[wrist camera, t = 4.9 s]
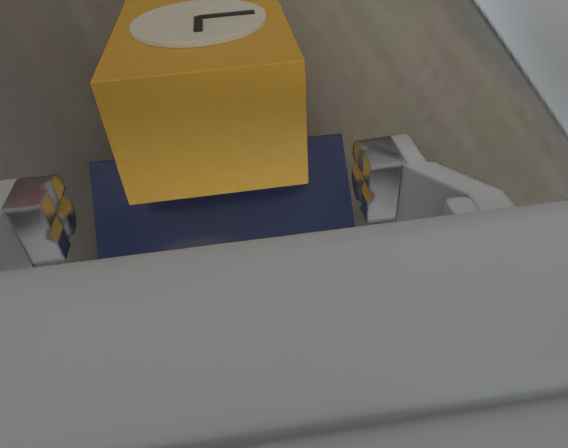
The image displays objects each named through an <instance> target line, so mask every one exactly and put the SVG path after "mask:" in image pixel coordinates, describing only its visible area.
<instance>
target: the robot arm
mask: <svg viewBox="0 0 568 448" xmlns="http://www.w3.org/2000/svg"><path fill="white" fill-rule="evenodd" d="M353 156H354V159H355V161H356V164H355V165H354V166H353V168H352V183H353V190H354V194H355V196H356V199H357V200H359V201H361V211H362V213H363V215H364V218H365V220H366V222H367V223H371V222H381V221H391V220H396V221H397V222H389V223H381V224H373V225H366V226H358V227H350V228H342V229H334V230H326V231H318V232H310V233H302V234H294V235H286V236H279V237H271V238H263V239H255V240H247V241H239V242H231V243H223V244H215V245H207V246H199V247H191V248H183V249H176V250H168V251H160V252H152V253H144V254H136V255H128V256H120V257H112V258H104V259H96V260H88V261H80V262H72V263H64V264H56V265H48V266H41V267H33V266H35V265H41V264H48V263H54V262H61V261H65V260H66V257H67V254H68V251H69V248H70V245H71V244H70V242H69V240H68V238H69V237H71V236H72V235H73V234H74V232H75V228H76V215H75V211H74V207H73V205H72V202H71V201H70V200H69V199H67V198H66V197H64V196H63V194H64V191H65V186H64V183H63V181H62V179H61V177H59V176H58V175H48V176H37V177H27V178H20V179H19V178H15V179H7V180H1V181H0V448H568V200H564V201H556V202H548V203H540V204H532V205H524V206H515V205H514V203H513V202H512V201H511V200H510V199H509V197H508V196H507V195H506V194H505V193H504V191H503V190H500V189H498V188H496V187H493V186H491V185H488V184H486V183H483V182H481V181H479V180H476V179H474V178H471V177H469V176H467V175H464V174H462V173H459V172H457V171H454V170H452V169H450V168H447V167H445V166H442V165H440V164H437V163H435V162H433V161H430V162H427V161H426V160H425V158H424V157H423V155H422V154H421V152H420V151H419V150H418V148H417V147H416V145H415V144H414V142H413V141H412V139H411V138H410V137H409V135H408V134H400V135H394V136H386V137H379V138H372V139H365V140H358V141H354V145H353Z"/></svg>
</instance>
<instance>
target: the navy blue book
mask: <svg viewBox="0 0 568 448" xmlns="http://www.w3.org/2000/svg"><path fill="white" fill-rule="evenodd" d="M307 144H308V184H300V185H292V186H284V187H275V188H267V189H259V190H251V191H242V192H234V193H226V194H218V195H209V196H201V197H193V198H185V199H176V200H168V201H160V202H151V203H143V204H135V205H129V203H128V200H127V197H126V194H125V190H124V187H123V184H122V181H121V178H120V175H119V172H118V168H117V165H116V162H115V159H114V160H106V161H97V162H90V174H91V185H92V195H93V205H94V216H95V226H96V237H97V247H98V258H99V259H104V258H112V257H120V256H128V255H136V254H144V253H152V252H160V251H168V250H176V249H183V248H191V247H199V246H207V245H215V244H223V243H231V242H239V241H247V240H255V239H263V238H271V237H279V236H286V235H294V234H302V233H310V232H318V231H326V230H334V229H342V228H350V227H355V223H354V216H353V209H352V203H351V196H350V189H349V182H348V175H347V168H346V162H345V155H344V148H343V141H342V135H341V134H333V135H324V136H315V137H307Z"/></svg>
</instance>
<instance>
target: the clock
mask: <svg viewBox="0 0 568 448" xmlns="http://www.w3.org/2000/svg"><path fill="white" fill-rule="evenodd" d="M90 84H91V87H92V90H93V93H94V97H95V100H96V103H97V106H98V109H99V112H100V115H101V118H102V122H103V125H104V128H105V131H106V134H107V137H108V140H109V143H110V147H111V150H112V153H113V156H114V159H115V162H116V165H117V168H118V172H119V175H120V178H121V181H122V184H123V187H124V190H125V194H126V197H127V200H128V203H129V205H135V204H143V203H151V202H160V201H168V200H176V199H185V198H193V197H201V196H209V195H218V194H226V193H234V192H242V191H251V190H259V189H267V188H275V187H284V186H292V185H300V184H308V144H307V107H306V69H305V59H304V57H303V55H302V53H301V50H300V48H299V46H298V44H297V42H296V39H295V37H294V35H293V33H292V30H291V28H290V26H289V24H288V22H287V19H286V17H285V15H284V13H283V10H282V8H281V6H280V4H279V2H278V0H126V1H125V3H124V6H123V8H122V10H121V12H120V15H119V17H118V19H117V22H116V24H115V26H114V29H113V31H112V33H111V36H110V38H109V40H108V43H107V45H106V47H105V50H104V52H103V54H102V56H101V59H100V61H99V63H98V66H97V68H96V70H95V73H94V75H93V77H92V80H91V82H90Z"/></svg>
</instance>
